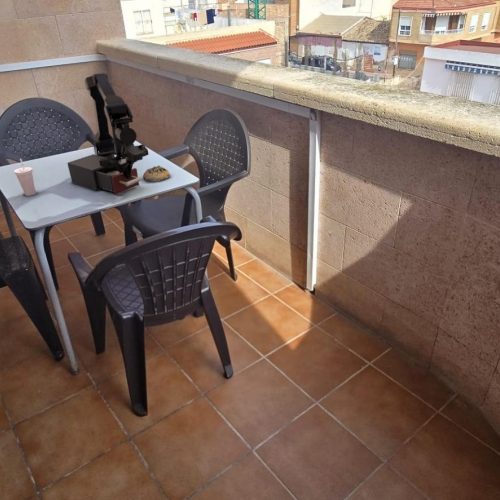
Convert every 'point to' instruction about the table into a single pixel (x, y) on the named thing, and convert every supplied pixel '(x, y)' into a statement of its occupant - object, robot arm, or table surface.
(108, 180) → the drawer
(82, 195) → the table surface
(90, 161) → the drawer box with handle
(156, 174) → the bread roll
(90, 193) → the table surface
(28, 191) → the smoothie
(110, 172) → the cylinder
